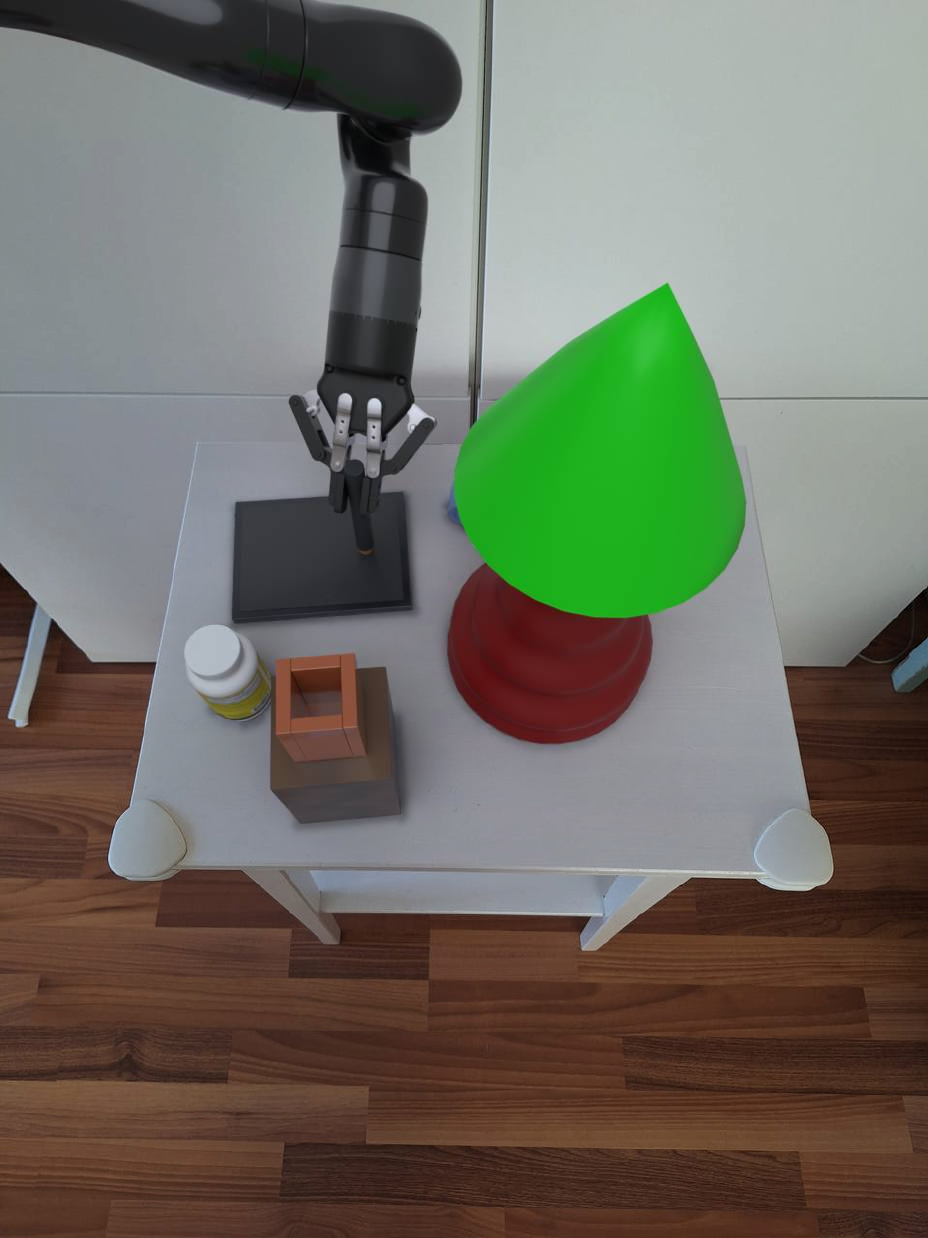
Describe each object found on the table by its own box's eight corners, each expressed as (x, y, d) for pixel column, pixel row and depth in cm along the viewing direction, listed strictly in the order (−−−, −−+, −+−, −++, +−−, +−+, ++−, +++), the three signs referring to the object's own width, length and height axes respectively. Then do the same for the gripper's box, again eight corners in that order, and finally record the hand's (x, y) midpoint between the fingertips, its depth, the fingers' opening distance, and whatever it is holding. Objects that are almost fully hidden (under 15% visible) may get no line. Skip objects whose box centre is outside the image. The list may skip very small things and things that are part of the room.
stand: (300, 824, 69) (269, 789, 56) (299, 728, 73) (270, 675, 60) (400, 814, 70) (392, 778, 57) (394, 720, 73) (385, 666, 61)
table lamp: (439, 569, 80) (443, 152, 40) (624, 558, 82) (810, 142, 41) (455, 753, 72) (480, 464, 31) (660, 737, 74) (940, 439, 33)
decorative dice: (454, 493, 85) (455, 471, 81) (490, 499, 84) (492, 478, 81) (447, 523, 83) (447, 502, 79) (483, 529, 83) (485, 509, 79)
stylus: (357, 556, 80) (344, 476, 67) (356, 542, 80) (343, 459, 68) (375, 555, 80) (364, 474, 67) (374, 540, 80) (363, 458, 68)
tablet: (233, 623, 77) (231, 619, 76) (237, 506, 83) (235, 501, 82) (412, 610, 78) (411, 605, 77) (403, 496, 84) (403, 490, 83)
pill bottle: (213, 663, 75) (180, 615, 65) (277, 663, 75) (253, 615, 65) (205, 724, 73) (168, 683, 63) (271, 724, 73) (245, 683, 63)
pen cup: (294, 763, 57) (275, 734, 50) (294, 695, 59) (275, 658, 53) (367, 757, 58) (357, 727, 51) (363, 689, 60) (354, 652, 53)
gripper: (280, 297, 61) (266, 508, 67) (449, 325, 61) (419, 536, 67) (308, 303, 68) (292, 494, 74) (459, 328, 68) (431, 518, 74)
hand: (352, 513), depth 70 cm, fingers closed on stylus, 2 cm apart
